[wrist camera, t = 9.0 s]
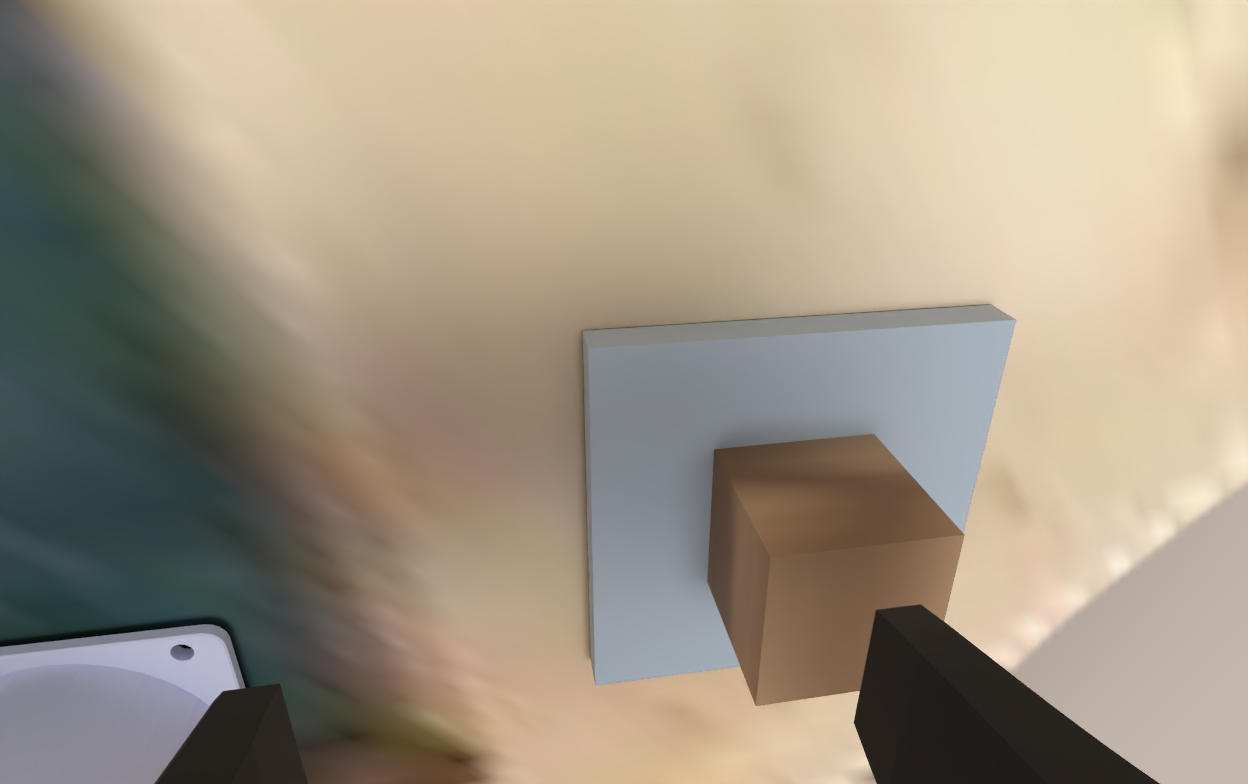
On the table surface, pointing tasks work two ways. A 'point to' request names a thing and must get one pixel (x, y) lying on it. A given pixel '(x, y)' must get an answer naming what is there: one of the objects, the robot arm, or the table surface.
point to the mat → (756, 415)
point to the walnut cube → (820, 558)
